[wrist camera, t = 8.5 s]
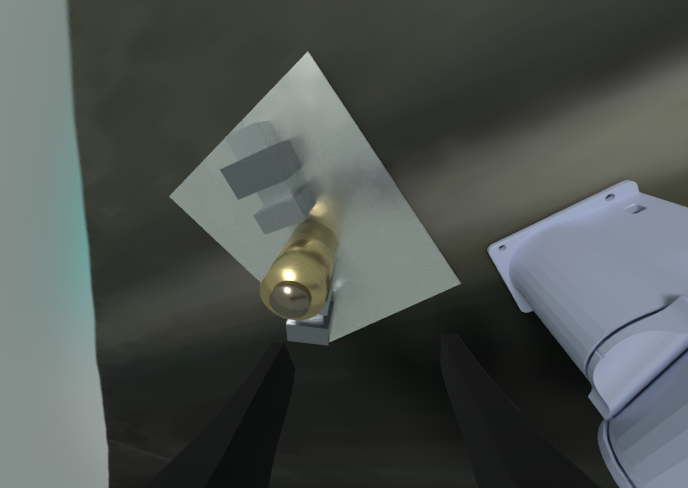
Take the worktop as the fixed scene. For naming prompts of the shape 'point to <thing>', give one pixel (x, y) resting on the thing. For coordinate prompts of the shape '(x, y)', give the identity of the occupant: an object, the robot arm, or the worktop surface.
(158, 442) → the worktop surface
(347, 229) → the shaft rig
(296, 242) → the cylinder
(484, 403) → the robot arm
